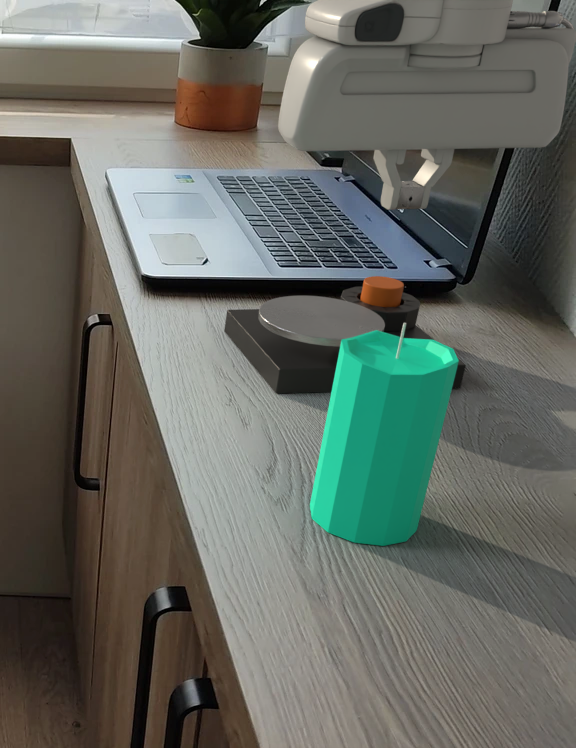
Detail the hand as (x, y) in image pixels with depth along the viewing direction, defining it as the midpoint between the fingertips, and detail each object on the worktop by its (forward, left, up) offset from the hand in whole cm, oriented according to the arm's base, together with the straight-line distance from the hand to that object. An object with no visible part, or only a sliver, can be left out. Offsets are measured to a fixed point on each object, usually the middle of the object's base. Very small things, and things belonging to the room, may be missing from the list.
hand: (402, 207), depth 83 cm
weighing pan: (+7, +5, -7) cm, 11 cm away
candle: (+13, +26, -11) cm, 31 cm away
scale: (+5, +3, -11) cm, 12 cm away
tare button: (0, 0, -8) cm, 8 cm away
